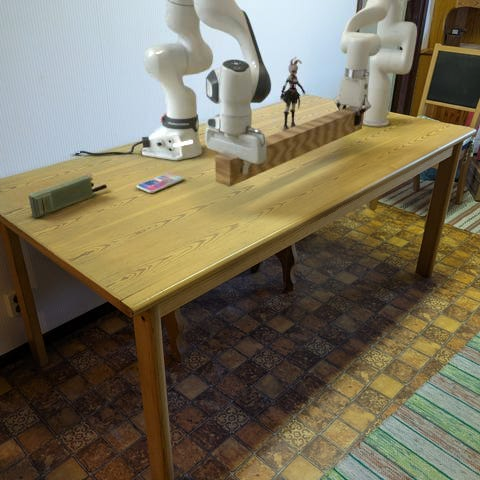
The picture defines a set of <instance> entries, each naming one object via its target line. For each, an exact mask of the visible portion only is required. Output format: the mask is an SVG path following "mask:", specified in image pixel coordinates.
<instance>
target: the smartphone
mask: <svg viewBox="0 0 480 480" xmlns="http://www.w3.org/2000/svg"><path fill="white" fill-rule="evenodd" d="M182 181H184V177H183V176H180V175H179V174H174V173H172V172H166V173H163V174H161V175H159V176H156V177H154V178H151V179H149V180H146V181H143V182H141V183H138V184H137V185H136V188H137V189H139V190H141V191H143V192H145V193H148V194H154V193H156V192H158V191H160V190H161V191H162V190H164V189H166V188H168V187H170V186H172V185H175V184H177V183H180V182H182Z"/></svg>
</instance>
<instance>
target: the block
mask: <svg viewBox="0 0 480 480" xmlns="http://www.w3.org/2000/svg"><path fill="white" fill-rule="evenodd" d="M355 115H357V112H356V107H353V106H346V108H344V109H341V110H339V109H338V110H335V111H332V112H330V113H327V114H324V115H322V116H319V117H317V118H314V119H310V120H309V121H306V122H302V123H300V124H298V125H297V124H296V125H297V126H295V127H288V128H289V129H286V130H285V129H283V130H280V131H278V132H275V133H273V134H270V135H267V136H265V143H266V160H265V161H264V162H262V163H260V164H254V163H251V164H250V166H249V167H248V173H247V174H242V173H240V171H241V170H240V168H241V167H243V166H244V163H243V160H242V159H239V158H238V157H236V156H233V155H230V154H227V153H221V154H219V153H218V154H216V155H215V156H214V157H215V160H214V161H215V162H214V163H215V166H214V167H215V168H214V169H215V171H214V172H215V182H216V183H218V184H221V185H223V186H226V187H230V188H231V187H232V186H235V185H237V184H240V183H242V182H244V181H246V180H249V179H251V178H253V177H256V176H259V175H260V174H262V173H264V172H267V171H269V170H272V169H274V168H276V167H279V166H281V165H283V164H285V163H288V162H289V161H292V160H294V159H296V158H299V157H301V156H304V155H306V154H308V153H311V152H312V151H315V150H317V149H320V148H321V147H324V146H326V145H329V144H330V143H333V142H335V141H338V140H340V139H342V138H344V137H346V136H347V137H348V136H349V135H352V134H353V133H356V132H358V131H360V130H363V125H364V124H363V118H364V115H365V112H364V113H363V114H362V117H361V123H360V124H359V125H357V126H354V122H355Z"/></svg>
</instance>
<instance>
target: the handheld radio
mask: <svg viewBox="0 0 480 480" xmlns="http://www.w3.org/2000/svg"><path fill="white" fill-rule="evenodd" d="M92 176H93V174H91V173H88V174H85V175H83V176H79V177H76V178H74V179H71V180H68V181H65V182H62V183H59V184H57V185H54V186H50V187H47V188H44V189H42V190H39V191H37V192H33V193H30V194H28V200H29V206H30V210H31V216H32V217H34V218H35V219H36V218H39V217H42V216H45V215H47V214H50V213H53V212H56V211H58V210H60V209H63V208H66V207H68V206H72V205H73V204H76V203H80V202H82V201H84V200H87V199H90V198H93V196H95V195H96V194H95V193H97V192H100V191H102V190H106V189H107V188H108V186H107V184H102V185H99V186H96V187H94V186H95V183H94V182H92V181H93V180H94V178H93V177H92ZM93 187H94V188H93Z"/></svg>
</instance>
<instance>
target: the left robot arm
mask: <svg viewBox="0 0 480 480" xmlns="http://www.w3.org/2000/svg"><path fill="white" fill-rule="evenodd" d="M200 21H201V22H202V23H203V24H204V25H206V26H207V27H209V28H211V29H213V30H217V31H220V32H223V33H225V34H227V35H229V36H231V37H232V38H234V39H235V40H236V41H237V42H238V44H239V47H240V50H241V54H242V57H243V60H240V59H227V60H225V61H223V62H222V63H221V64H220V67H218V68H214V69H212V70H211V71H210V72H209V73H208V74H207V76H206V77H205V95H206V97H207V98H208V99H209V100H210V102H212V103H214V104H217V105H220V107H219V114H215V115H211V116H209V117H207V118H205V125H206V128H205V133H204V136H205V137H204V138H205V142H204V143H205V146H206V148H207V149H208V150H211V151H214V152H218V154H221V153H227V154H230V155H233V156H236V157H238V158H239V159H242V160H243V163H244V166H243V167H241V168H240V170H241V171H240V173H242V174H247V173H248V167H249V166H250V164H251V163H254V164H260V163H262V162H264V161H265V160H266V143H265V137H266V135H265V134H264V133H263V131H262V130H261V129H259V128H254V127H252V119H253V118H252V116H253V112H252V106H251V104H260V103H261V104H262V103H263V102H264V101H265V100H266V98H267V97H268V96H269V95H270V94H271V90H272V81H271V77H270V73H269V71H268V69H267V67H266V65H265V63H264V60H263V57H262V54H261V50H260V48H259V45H258V42H257V38H256V35H255V32H254V28H253V26H252V24H251V21H250V18H249V16H248V14H247V12H246V11H244V9H241V8H240V6H239V5H238V3H237V2H236V0H166V3H165V24H166V26H167V27H168V29H169V30H171V31H172V32H173V33H175V34H177V41H176V42H171V43H161V44H157V45H154V46H151V47H149V48H147V49H146V51H145V52H144V56H143V67H144V68H145V71H146V72H147V74H148V75H149V76H150V77H152V78H153V79H154V80H155V81H156V82H157V83H158V84H159V86H160V87H161V89H162V92H163V96H164V102H165V113H163V114H162V116H161V118H160V123H161V125H159V127H157V128H156V129H155V130H154V131H152V132H151V133H150V135H149V136H142V137H141V141H138V142H136V143H134V144H132V146H131V149H130V151H127V152H121V151H106V152H90V151H86V150H79V151H80V153H77V152H75V154H74V156H79V154H86V155H89V156H105V155H106V156H109V155H131V154H133V153H134V150H135V147H137V146H139V145H142V150H141V155H142V156H145V157H152V158H157V159H164V160H170V161H176V162H178V161H182V160H185V159H190V158H191V159H192V158H196V157H198V156H200V155H202V153H203V149H202V148H203V147H202V145H201V142H200V134H199V128H200V121H199V114H198V103H197V94H196V92H195V91H194V89H192V88H191V87H189V86H187V85H185V82H184V79H183V77H185V76H192V75H199V74H201V73H203V72H206V71H208V70H210V69H211V67H212V66H213V63H214V62H213V61H214V53H213V50H212V48H211V47H210V45H209V44H208V43H207V42H206V40H204V38H203V37H202V33H201V26H200Z"/></svg>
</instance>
